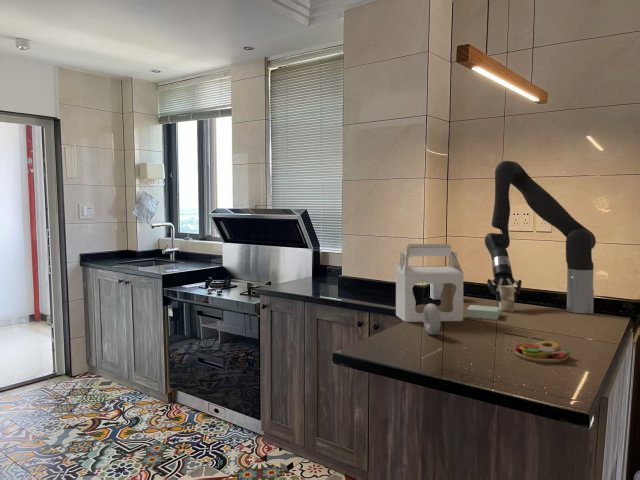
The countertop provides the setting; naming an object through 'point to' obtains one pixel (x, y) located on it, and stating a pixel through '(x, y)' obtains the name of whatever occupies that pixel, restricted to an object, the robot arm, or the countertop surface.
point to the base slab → (483, 312)
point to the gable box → (429, 274)
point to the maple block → (506, 298)
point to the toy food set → (542, 352)
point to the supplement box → (436, 291)
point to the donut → (431, 319)
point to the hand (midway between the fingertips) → (507, 300)
